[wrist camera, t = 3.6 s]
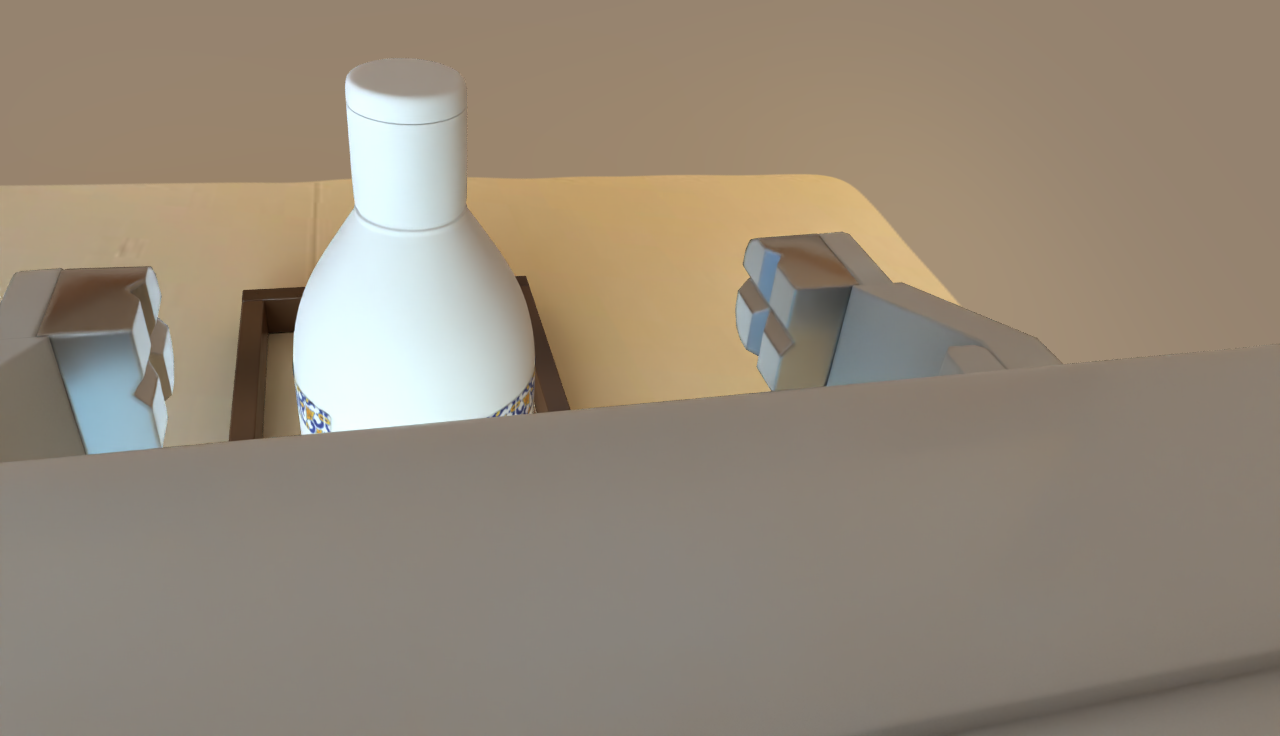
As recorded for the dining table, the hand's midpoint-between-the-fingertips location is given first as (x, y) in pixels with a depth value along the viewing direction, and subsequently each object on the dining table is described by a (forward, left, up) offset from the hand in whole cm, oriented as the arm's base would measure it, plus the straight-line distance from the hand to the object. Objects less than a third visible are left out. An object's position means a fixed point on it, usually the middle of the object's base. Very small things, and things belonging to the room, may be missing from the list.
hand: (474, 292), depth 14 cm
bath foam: (-4, +12, -22) cm, 25 cm away
